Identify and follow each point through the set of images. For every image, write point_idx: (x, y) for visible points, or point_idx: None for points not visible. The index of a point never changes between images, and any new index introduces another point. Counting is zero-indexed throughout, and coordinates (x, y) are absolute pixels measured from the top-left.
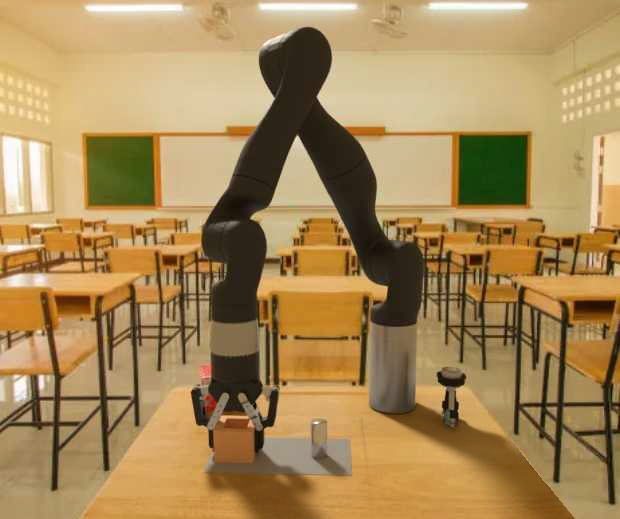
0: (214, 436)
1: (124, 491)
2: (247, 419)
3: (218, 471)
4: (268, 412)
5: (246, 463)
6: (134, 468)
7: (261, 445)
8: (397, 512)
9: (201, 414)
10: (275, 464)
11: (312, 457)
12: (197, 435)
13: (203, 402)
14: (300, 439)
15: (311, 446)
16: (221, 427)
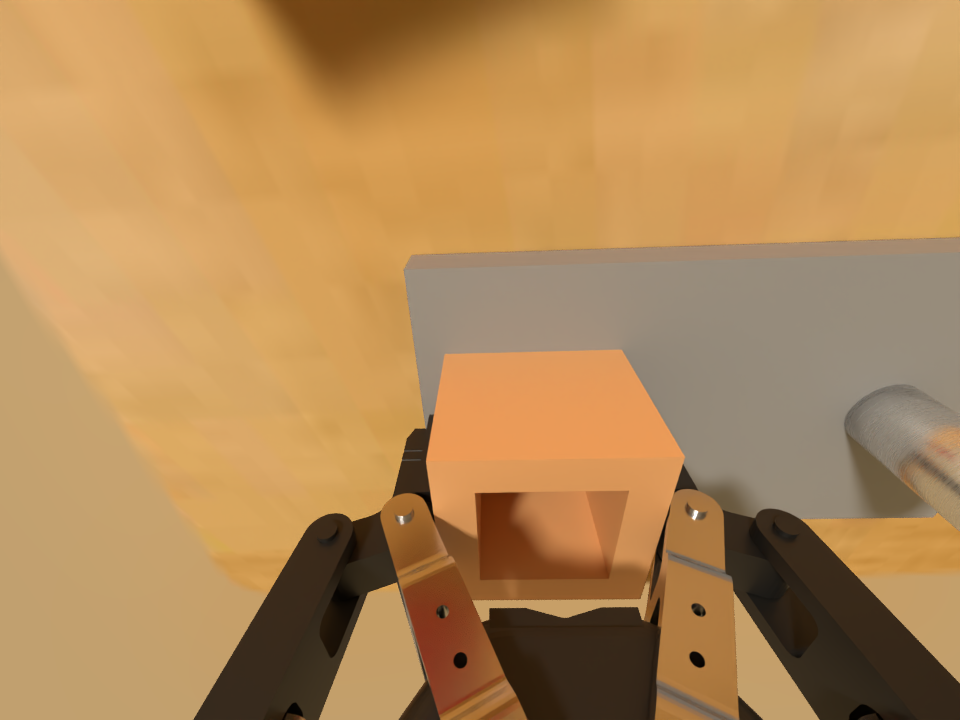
0: None
1: (250, 538)
2: (609, 487)
3: None
4: (784, 660)
5: None
6: (181, 448)
7: None
8: (949, 570)
9: (345, 638)
10: None
11: (846, 432)
12: (237, 139)
13: (305, 663)
14: (861, 272)
15: (883, 459)
16: (474, 573)
